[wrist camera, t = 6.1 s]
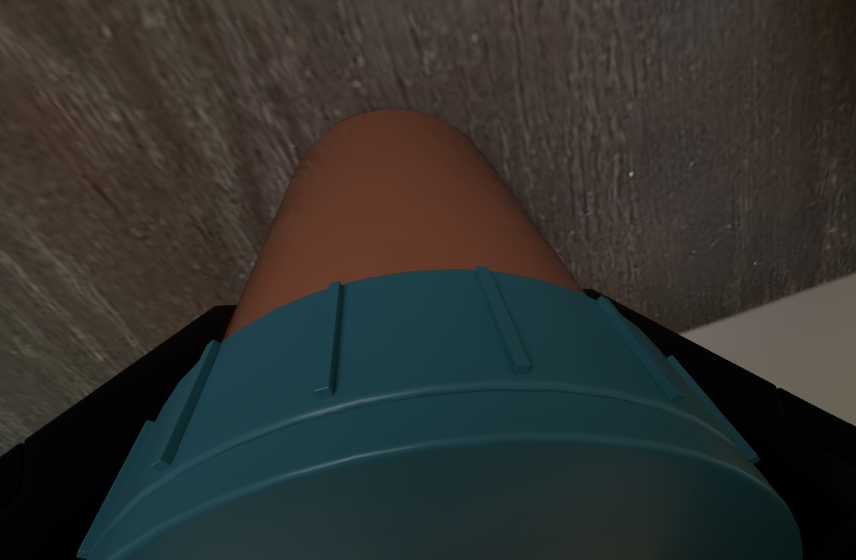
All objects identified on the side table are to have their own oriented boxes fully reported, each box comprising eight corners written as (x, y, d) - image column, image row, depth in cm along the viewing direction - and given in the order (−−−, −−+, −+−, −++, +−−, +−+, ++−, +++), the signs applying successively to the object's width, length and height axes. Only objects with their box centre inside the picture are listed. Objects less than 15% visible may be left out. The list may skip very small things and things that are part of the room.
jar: (424, 331, 15) (488, 717, 7) (251, 251, 13) (50, 684, 5) (541, 186, 13) (841, 513, 5) (354, 56, 10) (308, 255, 2)
